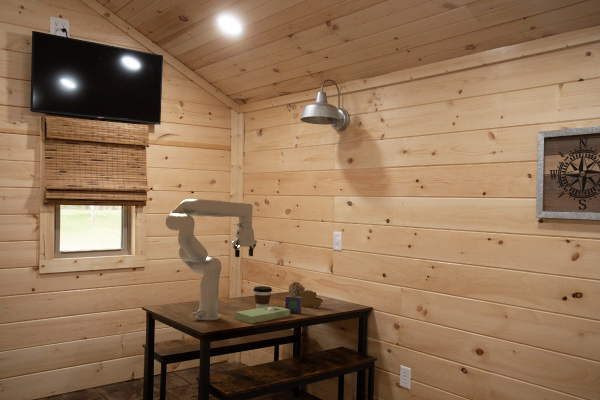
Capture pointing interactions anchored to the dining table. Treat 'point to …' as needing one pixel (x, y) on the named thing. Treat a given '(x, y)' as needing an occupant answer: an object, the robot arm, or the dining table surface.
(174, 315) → the dining table surface
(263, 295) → the coffee cup
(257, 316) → the green tray with wells
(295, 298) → the blue box
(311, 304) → the wooden carving
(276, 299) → the dining table surface
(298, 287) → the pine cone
